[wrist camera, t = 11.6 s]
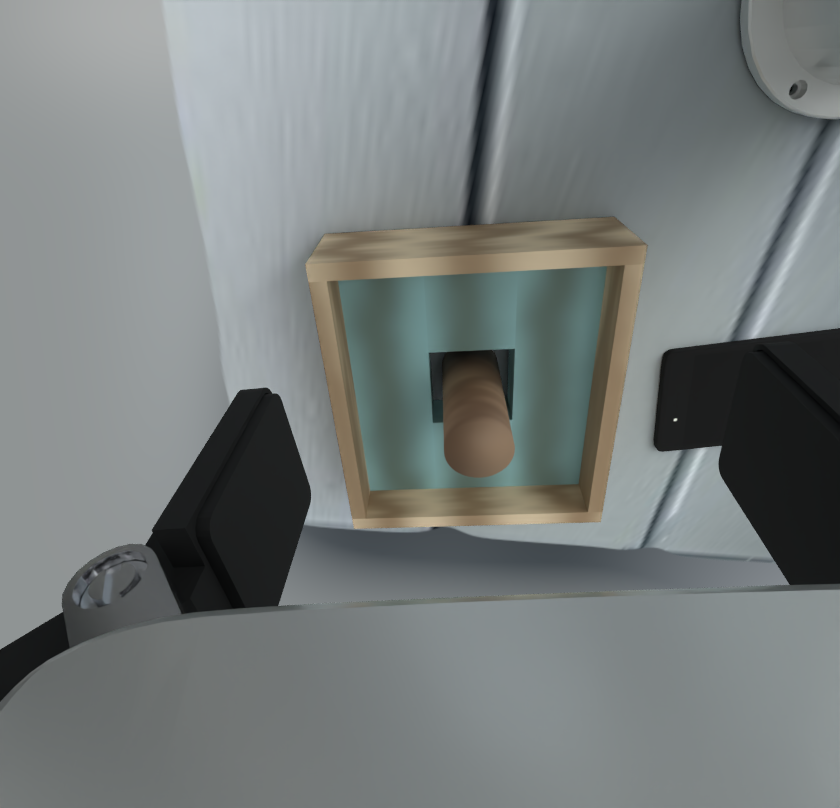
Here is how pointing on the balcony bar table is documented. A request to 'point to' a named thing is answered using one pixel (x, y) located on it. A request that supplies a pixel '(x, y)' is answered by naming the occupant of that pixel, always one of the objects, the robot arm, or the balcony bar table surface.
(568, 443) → the box
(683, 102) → the balcony bar table surface
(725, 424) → the cell phone
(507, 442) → the peg
